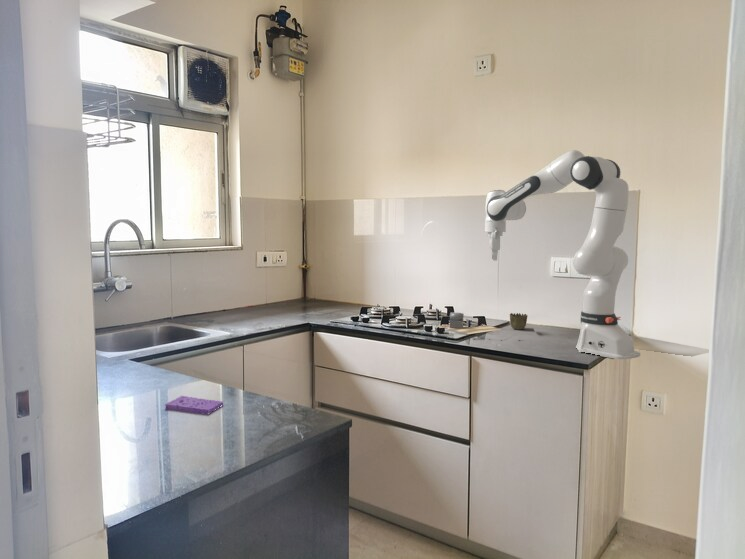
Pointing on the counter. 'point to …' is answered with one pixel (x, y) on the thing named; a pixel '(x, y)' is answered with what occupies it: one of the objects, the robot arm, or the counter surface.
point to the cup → (518, 321)
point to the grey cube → (456, 320)
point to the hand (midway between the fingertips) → (494, 259)
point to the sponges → (193, 405)
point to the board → (472, 329)
